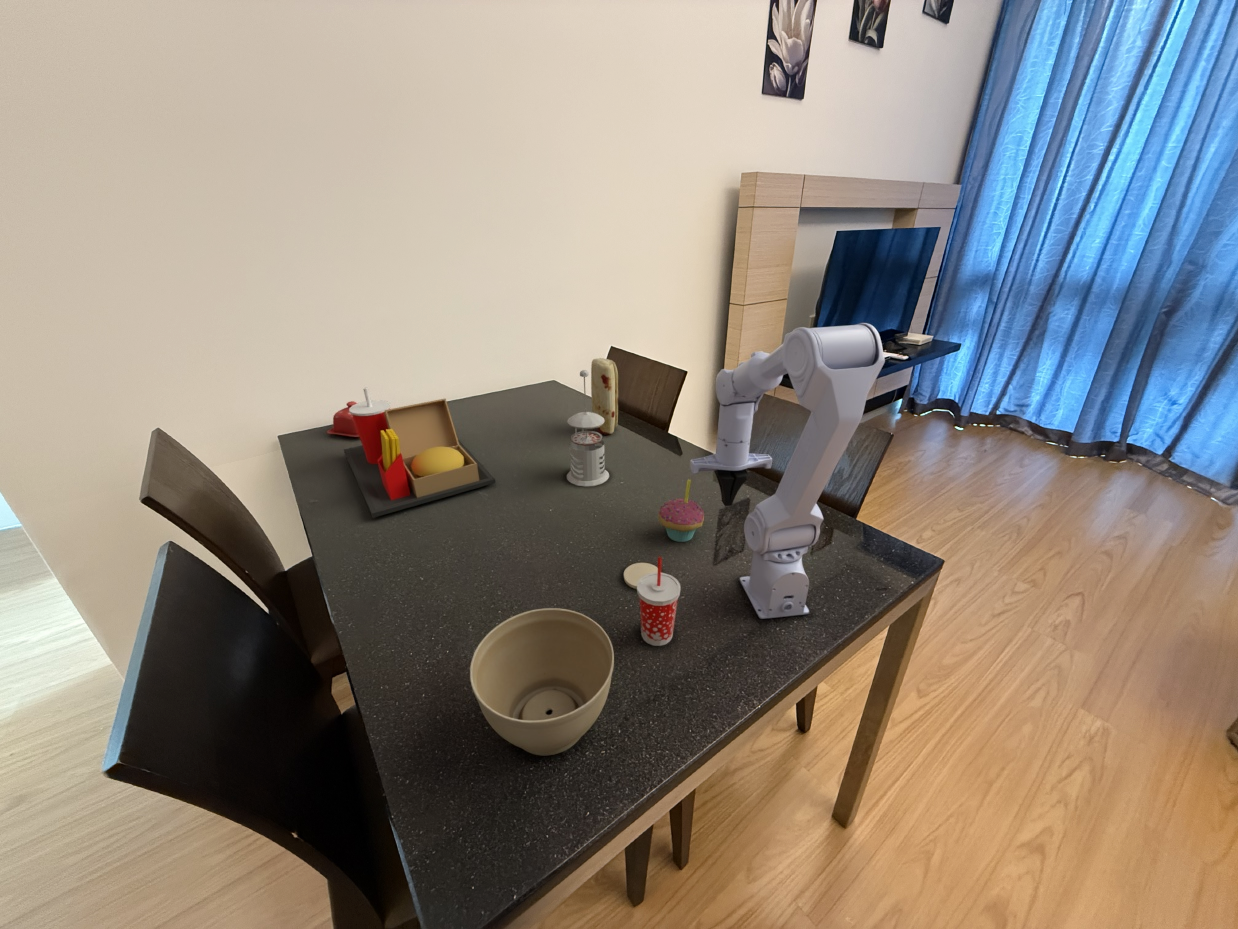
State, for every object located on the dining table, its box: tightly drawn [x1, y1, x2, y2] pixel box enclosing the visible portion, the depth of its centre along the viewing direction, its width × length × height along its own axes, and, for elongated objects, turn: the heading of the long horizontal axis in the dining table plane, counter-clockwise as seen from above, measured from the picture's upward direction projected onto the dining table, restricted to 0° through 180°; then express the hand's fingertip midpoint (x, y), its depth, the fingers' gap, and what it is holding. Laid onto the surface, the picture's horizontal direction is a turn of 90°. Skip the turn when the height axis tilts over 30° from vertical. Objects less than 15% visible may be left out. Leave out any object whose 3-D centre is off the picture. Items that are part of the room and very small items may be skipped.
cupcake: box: [658, 475, 706, 543], centre depth 97 cm, size 9×8×12 cm
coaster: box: [623, 562, 658, 590], centre depth 89 cm, size 6×6×1 cm
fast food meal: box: [343, 387, 496, 518], centre depth 119 cm, size 26×35×18 cm
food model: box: [590, 357, 619, 436], centre depth 139 cm, size 10×7×20 cm
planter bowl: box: [469, 607, 615, 757], centre depth 62 cm, size 16×16×11 cm
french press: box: [566, 369, 610, 487], centre depth 116 cm, size 10×12×25 cm
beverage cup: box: [636, 555, 681, 647], centre depth 74 cm, size 6×6×14 cm
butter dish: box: [326, 400, 360, 438], centre depth 142 cm, size 12×12×8 cm
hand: (726, 503), depth 98 cm, fingers closed
